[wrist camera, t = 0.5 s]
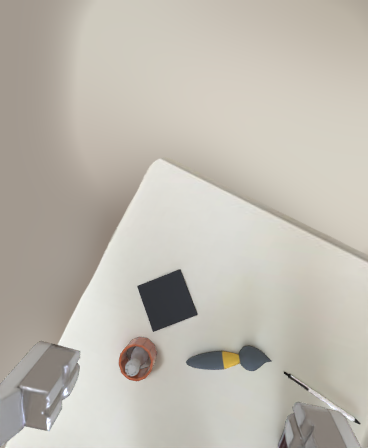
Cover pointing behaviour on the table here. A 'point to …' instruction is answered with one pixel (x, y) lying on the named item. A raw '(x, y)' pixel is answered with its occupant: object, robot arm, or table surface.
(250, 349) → the paintbrush
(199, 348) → the table surface
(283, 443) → the supplement box
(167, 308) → the pad
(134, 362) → the rook chess piece
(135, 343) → the brown hollow cylinder
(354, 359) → the table surface
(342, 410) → the pen
